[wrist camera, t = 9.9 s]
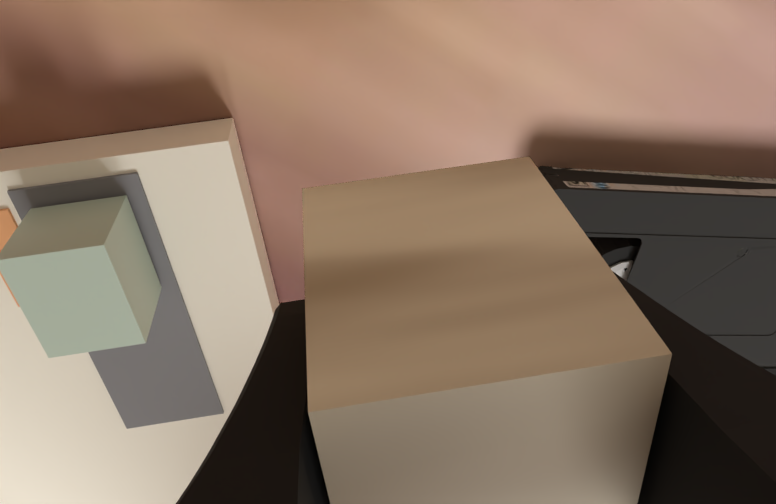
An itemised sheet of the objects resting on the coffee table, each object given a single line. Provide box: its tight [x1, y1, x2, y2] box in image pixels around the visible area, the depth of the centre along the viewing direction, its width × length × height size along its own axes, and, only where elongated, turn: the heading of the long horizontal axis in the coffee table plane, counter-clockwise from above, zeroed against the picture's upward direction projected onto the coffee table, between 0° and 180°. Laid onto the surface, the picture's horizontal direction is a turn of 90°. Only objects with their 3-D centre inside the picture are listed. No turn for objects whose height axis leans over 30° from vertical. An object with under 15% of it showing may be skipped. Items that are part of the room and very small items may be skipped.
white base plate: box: [0, 118, 279, 504], centre depth 20 cm, size 14×17×2 cm
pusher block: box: [302, 157, 672, 504], centre depth 10 cm, size 4×4×5 cm
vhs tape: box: [538, 166, 776, 375], centre depth 22 cm, size 14×8×2 cm, turn 83°
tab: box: [0, 195, 162, 358], centre depth 16 cm, size 3×2×2 cm
